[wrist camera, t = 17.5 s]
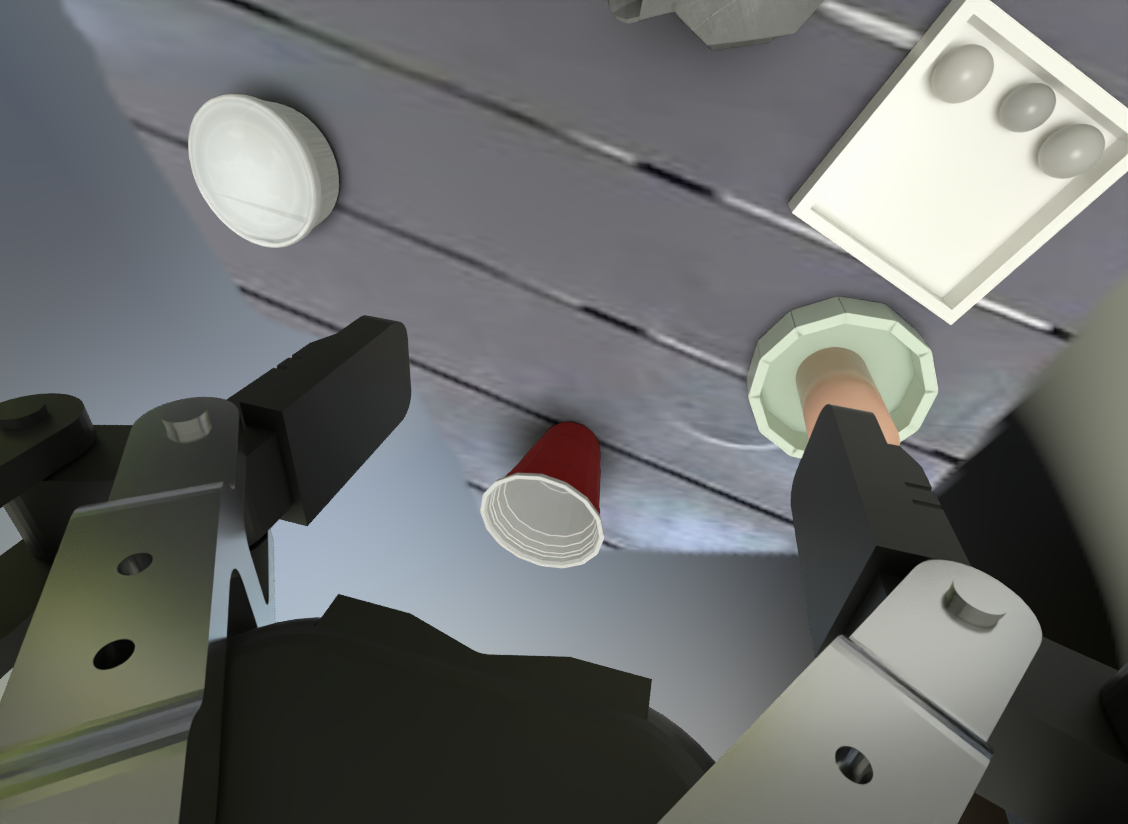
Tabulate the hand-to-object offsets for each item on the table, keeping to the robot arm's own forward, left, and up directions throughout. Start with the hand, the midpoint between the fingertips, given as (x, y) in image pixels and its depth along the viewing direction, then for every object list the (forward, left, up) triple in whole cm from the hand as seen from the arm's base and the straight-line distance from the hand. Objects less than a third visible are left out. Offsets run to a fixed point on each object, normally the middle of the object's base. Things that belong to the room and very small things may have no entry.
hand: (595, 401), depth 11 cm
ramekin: (-33, -5, -36) cm, 49 cm away
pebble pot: (+15, -15, -36) cm, 41 cm away
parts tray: (+17, +1, -36) cm, 40 cm away
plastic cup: (-6, -28, -36) cm, 46 cm away
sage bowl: (+15, -15, -36) cm, 42 cm away
